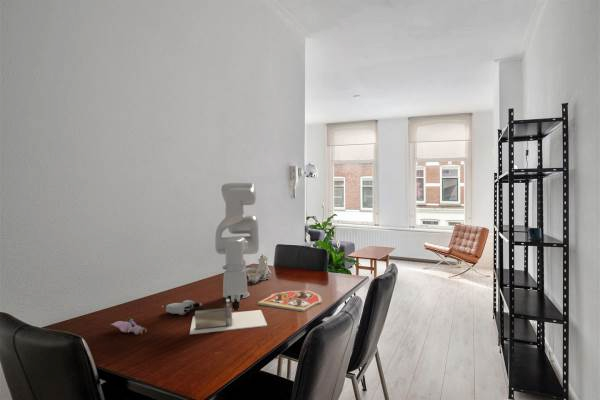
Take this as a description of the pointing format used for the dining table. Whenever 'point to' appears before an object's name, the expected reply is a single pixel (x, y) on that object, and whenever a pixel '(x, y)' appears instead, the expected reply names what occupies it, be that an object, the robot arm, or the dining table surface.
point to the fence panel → (228, 302)
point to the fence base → (213, 318)
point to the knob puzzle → (292, 300)
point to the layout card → (235, 322)
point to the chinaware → (259, 270)
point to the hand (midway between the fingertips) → (235, 310)
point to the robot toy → (181, 307)
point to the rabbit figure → (129, 327)
